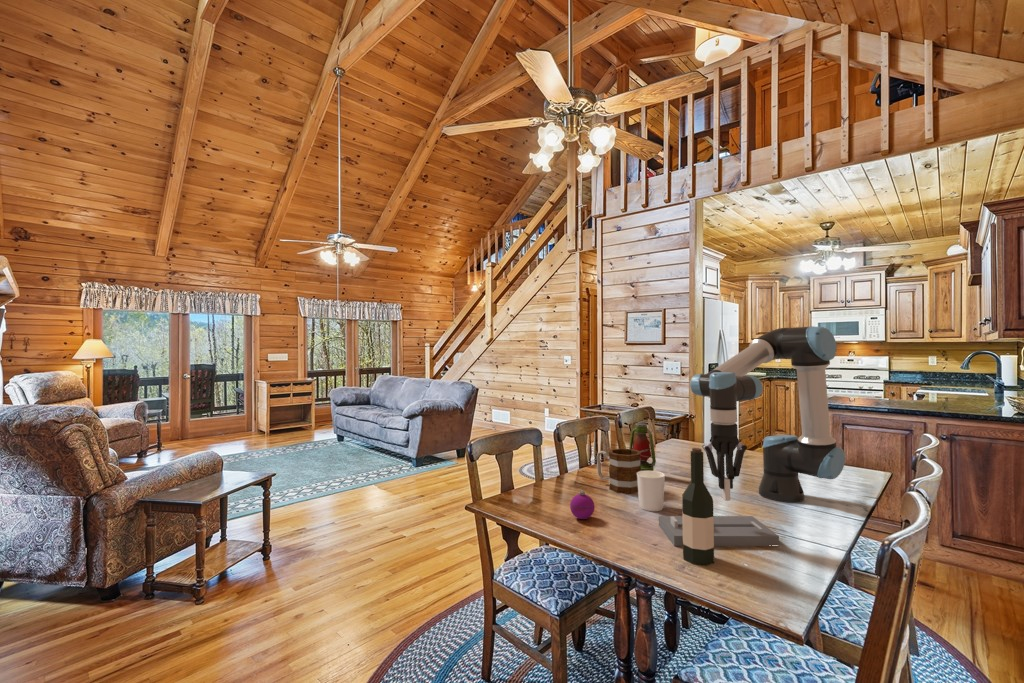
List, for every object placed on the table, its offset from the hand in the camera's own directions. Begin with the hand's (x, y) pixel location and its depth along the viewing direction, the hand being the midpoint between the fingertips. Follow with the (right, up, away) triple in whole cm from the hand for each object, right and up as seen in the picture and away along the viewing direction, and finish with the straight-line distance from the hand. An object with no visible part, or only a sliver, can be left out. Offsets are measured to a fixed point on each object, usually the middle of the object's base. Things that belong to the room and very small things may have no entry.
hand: (726, 499), depth 145 cm
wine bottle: (-15, -11, -16) cm, 25 cm away
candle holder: (-16, -12, +25) cm, 32 cm away
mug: (-22, -12, +49) cm, 55 cm away
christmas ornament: (-42, -12, +15) cm, 46 cm away
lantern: (-7, -12, +67) cm, 68 cm away
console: (-3, -11, 0) cm, 12 cm away
